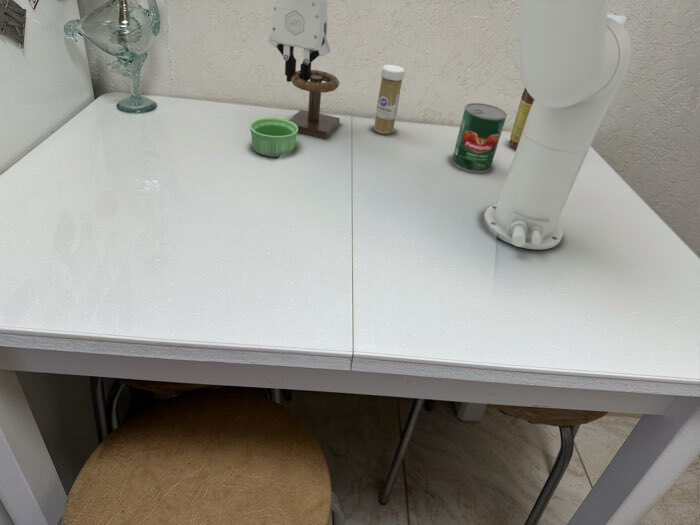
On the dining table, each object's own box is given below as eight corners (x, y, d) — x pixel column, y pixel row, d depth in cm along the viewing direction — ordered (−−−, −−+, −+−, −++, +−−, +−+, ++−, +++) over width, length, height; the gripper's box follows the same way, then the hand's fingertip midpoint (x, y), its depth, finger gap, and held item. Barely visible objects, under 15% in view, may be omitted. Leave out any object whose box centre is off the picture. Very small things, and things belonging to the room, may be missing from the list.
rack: (326, 139, 100) (330, 87, 94) (285, 129, 102) (286, 78, 95) (339, 124, 107) (344, 75, 101) (300, 116, 109) (303, 67, 103)
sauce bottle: (533, 143, 111) (565, 51, 99) (538, 155, 106) (574, 59, 94) (504, 139, 111) (533, 47, 99) (508, 150, 106) (540, 54, 94)
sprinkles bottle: (370, 131, 106) (379, 67, 98) (376, 125, 110) (386, 62, 101) (390, 136, 105) (401, 72, 97) (396, 129, 109) (407, 67, 101)
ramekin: (261, 135, 98) (261, 114, 96) (303, 145, 97) (305, 123, 94) (241, 152, 91) (241, 129, 89) (286, 162, 90) (287, 140, 87)
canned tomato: (477, 154, 103) (492, 102, 96) (498, 172, 97) (515, 118, 90) (444, 156, 100) (457, 102, 94) (463, 174, 94) (478, 118, 88)
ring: (330, 97, 95) (331, 87, 94) (283, 86, 96) (284, 77, 95) (343, 83, 102) (344, 75, 101) (300, 74, 104) (301, 65, 103)
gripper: (252, -27, 87) (253, 78, 98) (338, -13, 85) (329, 94, 96) (269, -31, 93) (268, 69, 104) (350, -17, 91) (340, 84, 102)
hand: (297, 80), depth 100 cm, fingers closed on ring, 2 cm apart
